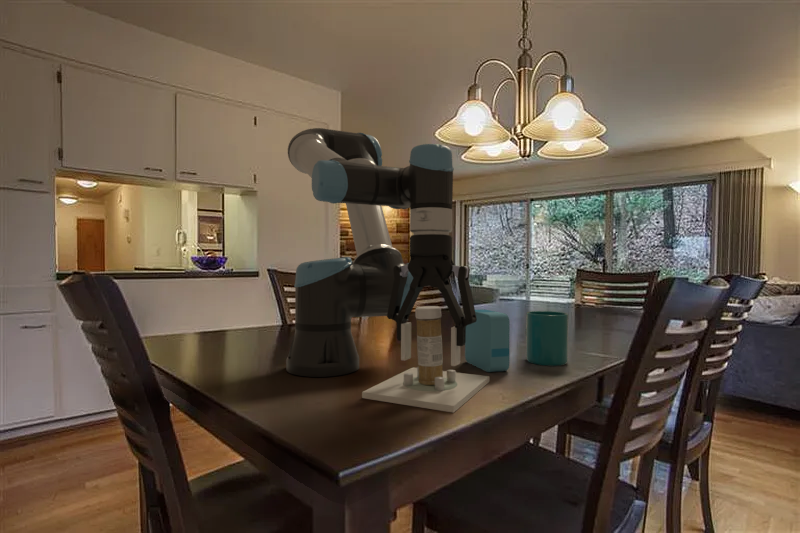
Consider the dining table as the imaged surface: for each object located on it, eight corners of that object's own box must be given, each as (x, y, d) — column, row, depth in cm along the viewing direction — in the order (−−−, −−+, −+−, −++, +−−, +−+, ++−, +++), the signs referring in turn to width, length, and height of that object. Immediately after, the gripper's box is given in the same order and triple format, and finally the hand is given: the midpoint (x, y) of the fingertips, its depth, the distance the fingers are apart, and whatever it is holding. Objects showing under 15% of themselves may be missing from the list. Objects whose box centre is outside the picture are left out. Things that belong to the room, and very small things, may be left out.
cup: (542, 354, 111) (542, 309, 111) (576, 365, 100) (577, 314, 100) (511, 357, 108) (511, 310, 108) (542, 368, 97) (543, 315, 97)
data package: (509, 372, 93) (510, 314, 93) (490, 374, 92) (490, 315, 91) (482, 360, 104) (482, 308, 104) (464, 361, 103) (464, 309, 103)
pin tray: (362, 397, 75) (362, 379, 75) (412, 372, 92) (412, 357, 92) (453, 412, 67) (454, 392, 67) (489, 381, 85) (489, 365, 85)
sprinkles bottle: (437, 378, 83) (434, 305, 83) (448, 384, 79) (445, 306, 79) (414, 381, 81) (411, 306, 81) (424, 387, 77) (421, 308, 77)
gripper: (367, 234, 81) (367, 359, 81) (484, 231, 72) (483, 373, 72) (387, 236, 88) (386, 352, 88) (496, 234, 78) (495, 363, 79)
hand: (430, 361), depth 80 cm, fingers open, 9 cm apart
